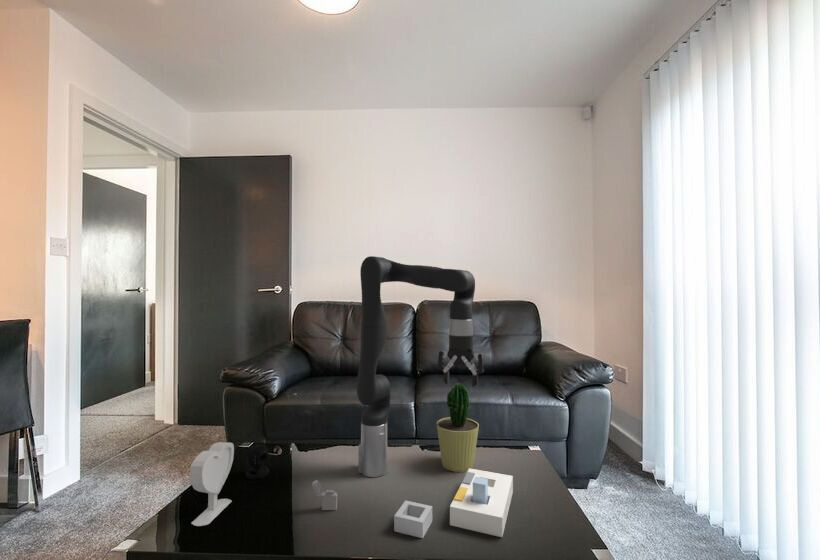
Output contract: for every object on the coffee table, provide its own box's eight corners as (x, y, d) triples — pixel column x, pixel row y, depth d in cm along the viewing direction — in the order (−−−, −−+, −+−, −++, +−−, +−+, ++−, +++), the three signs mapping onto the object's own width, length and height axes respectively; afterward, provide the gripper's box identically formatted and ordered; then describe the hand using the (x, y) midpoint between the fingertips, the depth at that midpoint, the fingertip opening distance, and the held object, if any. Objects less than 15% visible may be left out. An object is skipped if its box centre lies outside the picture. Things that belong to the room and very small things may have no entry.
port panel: (449, 525, 104) (449, 504, 105) (469, 483, 127) (469, 467, 127) (502, 537, 99) (502, 516, 100) (512, 491, 122) (512, 474, 122)
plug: (472, 518, 108) (472, 482, 108) (475, 511, 111) (475, 476, 111) (485, 521, 106) (485, 484, 106) (487, 514, 110) (487, 478, 110)
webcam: (254, 482, 127) (255, 451, 127) (240, 476, 131) (241, 446, 131) (274, 472, 134) (274, 443, 134) (260, 467, 138) (260, 439, 138)
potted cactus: (449, 452, 151) (449, 375, 152) (485, 462, 142) (485, 381, 143) (428, 466, 139) (428, 383, 140) (466, 479, 130) (466, 389, 131)
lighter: (337, 507, 113) (337, 479, 113) (336, 510, 111) (336, 482, 111) (313, 506, 113) (313, 479, 113) (311, 510, 111) (311, 482, 111)
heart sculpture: (203, 528, 102) (205, 460, 103) (186, 527, 103) (187, 459, 103) (235, 497, 118) (236, 438, 118) (220, 496, 118) (221, 437, 119)
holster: (394, 531, 102) (394, 515, 102) (405, 514, 109) (405, 500, 109) (422, 538, 99) (422, 522, 99) (432, 520, 106) (432, 506, 106)
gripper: (435, 333, 120) (435, 385, 120) (481, 335, 115) (481, 390, 114) (442, 331, 127) (442, 380, 127) (485, 333, 122) (485, 384, 121)
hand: (460, 385), depth 121 cm, fingers open, 8 cm apart
